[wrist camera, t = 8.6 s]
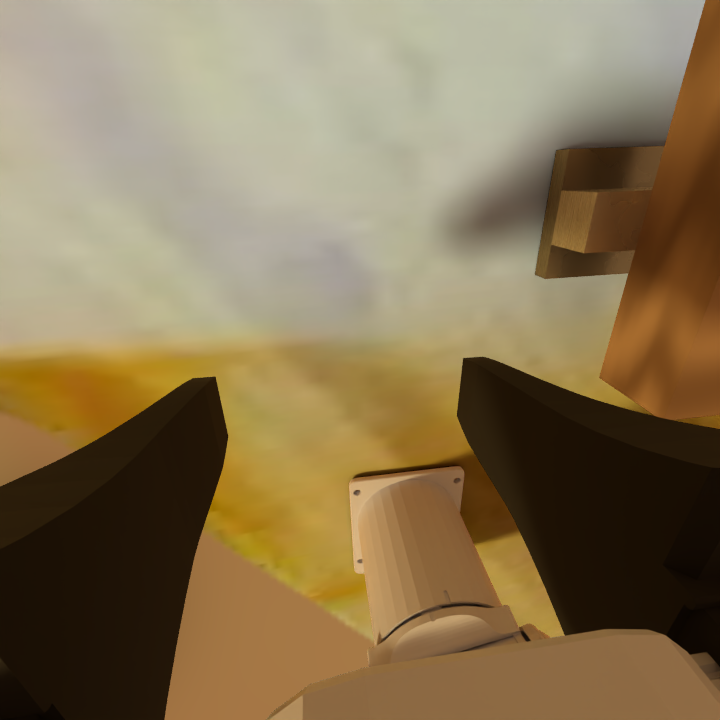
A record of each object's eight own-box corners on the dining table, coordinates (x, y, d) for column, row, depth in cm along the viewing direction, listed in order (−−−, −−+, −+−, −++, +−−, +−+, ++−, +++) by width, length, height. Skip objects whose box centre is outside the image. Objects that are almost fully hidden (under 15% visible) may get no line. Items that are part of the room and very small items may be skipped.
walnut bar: (650, 372, 20) (724, 414, 17) (599, 377, 20) (662, 420, 16) (790, -28, 13) (969, -104, 10) (713, -29, 13) (869, -109, 9)
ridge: (666, 265, 21) (727, 280, 18) (534, 274, 21) (575, 291, 18) (705, 145, 19) (784, 139, 16) (556, 150, 18) (608, 144, 15)
